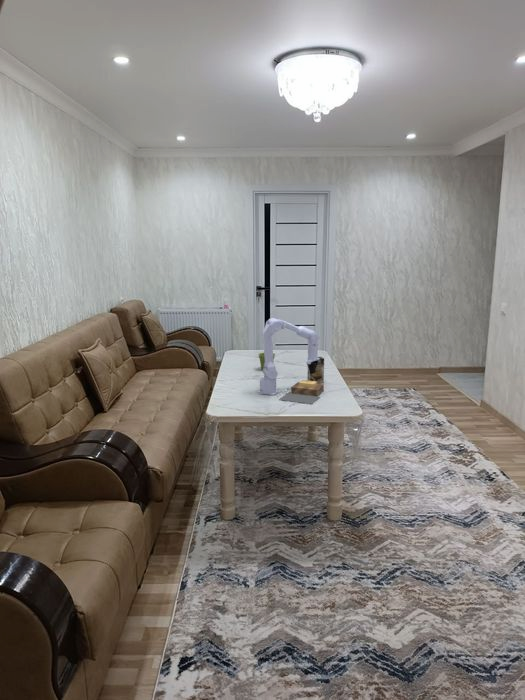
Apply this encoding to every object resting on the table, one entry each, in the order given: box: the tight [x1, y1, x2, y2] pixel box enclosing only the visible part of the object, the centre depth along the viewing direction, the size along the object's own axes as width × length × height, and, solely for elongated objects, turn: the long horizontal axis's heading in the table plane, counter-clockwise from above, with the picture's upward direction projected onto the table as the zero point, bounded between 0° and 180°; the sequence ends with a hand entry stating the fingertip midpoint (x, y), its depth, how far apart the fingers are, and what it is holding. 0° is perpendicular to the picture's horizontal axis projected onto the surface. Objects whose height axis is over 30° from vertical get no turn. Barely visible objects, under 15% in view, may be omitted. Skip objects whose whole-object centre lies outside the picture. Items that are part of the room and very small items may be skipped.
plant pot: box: [257, 352, 276, 372], centre depth 351 cm, size 12×12×11 cm
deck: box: [290, 381, 325, 397], centre depth 301 cm, size 16×12×4 cm
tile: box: [298, 379, 317, 388], centre depth 301 cm, size 9×6×2 cm, turn 66°
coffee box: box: [306, 356, 325, 384], centre depth 319 cm, size 9×6×16 cm
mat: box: [278, 392, 321, 405], centre depth 290 cm, size 20×14×1 cm
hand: (312, 373), depth 307 cm, fingers open, 2 cm apart
